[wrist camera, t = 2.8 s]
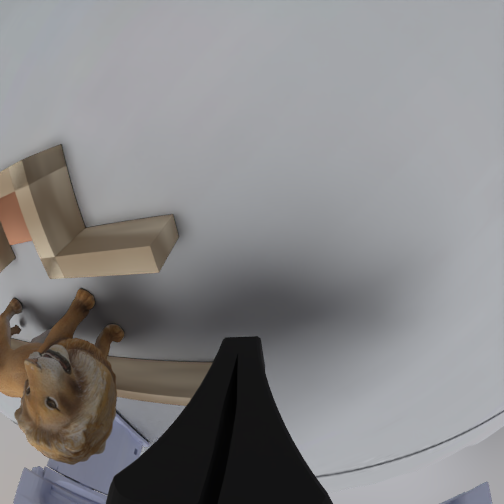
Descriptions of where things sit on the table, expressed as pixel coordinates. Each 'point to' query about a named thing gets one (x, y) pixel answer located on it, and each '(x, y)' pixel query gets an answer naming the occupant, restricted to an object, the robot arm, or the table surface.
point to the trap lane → (91, 260)
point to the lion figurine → (61, 384)
